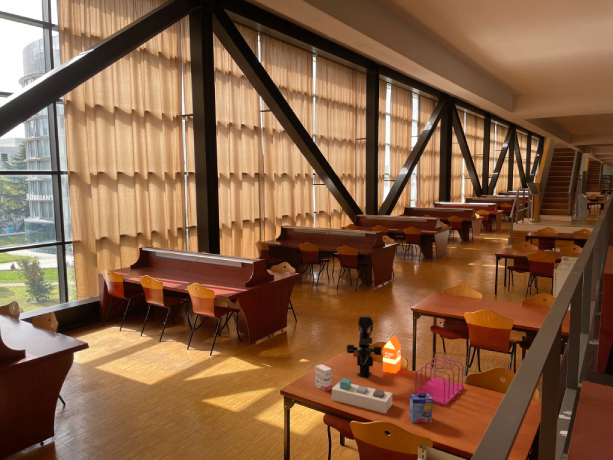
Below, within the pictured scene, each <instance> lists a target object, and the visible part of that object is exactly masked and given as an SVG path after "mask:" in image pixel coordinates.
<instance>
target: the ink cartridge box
mask: <svg viewBox="0 0 613 460" xmlns="http://www.w3.org/2000/svg"><path fill="white" fill-rule="evenodd" d="M409 397H410V398H409V419H410V422H411V423H412V424H416V423H415V422H430V423H432V422H433V410H434V409H433V408H434V406H433V405H434V403H433V398H432V397H431V395H430V394H426V393H419V394H414V393H410V396H409Z"/></svg>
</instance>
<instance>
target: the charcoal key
mask: <svg viewBox="0 0 613 460" xmlns="http://www.w3.org/2000/svg"><path fill="white" fill-rule="evenodd" d="M373 396H374V397H378V398H383V396H384V390H381V389H376V390H375V391H374V393H373Z"/></svg>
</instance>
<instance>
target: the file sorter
mask: <svg viewBox="0 0 613 460" xmlns="http://www.w3.org/2000/svg"><path fill="white" fill-rule="evenodd" d="M439 358H441V359H439ZM442 359H444V360H442ZM446 360H449V361H446ZM433 361H434V362H433ZM437 361H439V362H444V363H446V364H451V365H453V366H455V367H457V370H458V374H457V383H456V382H455V372H454V371H455V370H454V369H453V368H451V367H450V366H445V365H442V364H438V363H437ZM450 361H453V362H456V363H459V364H460V365H461V367H462V369H460V367H459V365H458V364H456V363H453V362H450ZM429 364H430V366H427V365H429ZM433 365H434V367H433ZM437 366H439V367H442V368H446V369H450V370H451V372H452V381H451V377H450V376H451V375H450V374H449V372H447V371H446V370H441V369H439V368H437ZM423 368H424V370H423ZM427 369H429V370H430V371H427ZM432 370H434V372H432ZM460 370H461V371H462V373H460ZM464 370H465V367H464V364H463V362H461V361H459V360H455V359H452V358H449V357H444V356H442V355H441V356H440V355H438V356H436V357H435V358H432V359H431V360H430V362H426V363H425V365H424V366H421V368H420V369H417V370H416V371H415V380H414V381H415V391H414V393H413V394H419V393H426V394H430V395H431V397H432V398H433V404H435V405H438V404H439V406H441V405H442V407H444V406H446V405H447V404H448V403H449V402H450V401H451V400H452V399H453V398H454V397H455V396H456V395H457V394H458V393H459V392H460V393H461V392H462V391H464V390H465V386H464V385H463V383H464ZM437 371H438V372H441V373H445V374H446V375H447V377H448V380H447V379H445V377H444V376H442V375H441V374H437V373H436V372H437ZM418 372H420V384H419V385H420V388H417V387H418V385H417V384H418V379H417V378H418ZM423 373H424V381H425V382H424V384H422V383H423V381H422V379H423ZM427 374H429V376H430V377H429V380H428V381H427ZM460 374H461V384H459V383H460ZM432 375H433V377H432ZM437 376H438V377H437ZM460 393H459V394H460ZM459 394H458V395H459ZM458 395H457V396H458ZM457 396H456V397H457ZM456 397H455V398H456ZM455 398H454V399H455ZM454 399H453V400H454ZM453 400H452V401H453ZM452 401H451V402H452ZM451 402H450V403H451ZM450 403H449V404H450ZM449 404H448V405H449ZM448 405H447V406H448ZM447 406H446V407H447Z"/></svg>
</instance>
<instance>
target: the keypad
mask: <svg viewBox="0 0 613 460" xmlns="http://www.w3.org/2000/svg"><path fill="white" fill-rule="evenodd" d="M340 381H341V380H339V381H338V382H337V383H336V384H335V385H334V386H332V389H331V401H335V402H339V403H341V404H343V403H344V404H347V405H351V406H353V407H358V408H362V409H366V410H371V411H373V412H377V413H382V414H387V413H388V411H389V410H390V408H391V407H392V405H393V393H392V392H390V391H389V392H388V391H384V390H383V391H384V396H383V398H378V397H374V396H373V393H374V391H375V390H377V388H373V387H368V389H367V392H366V393H365V394H361V393H357V392H356V389H357V388H358V387H359V386H360V385H358V384H355V383H351V388H350V389H349V390H345V389H340Z"/></svg>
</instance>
